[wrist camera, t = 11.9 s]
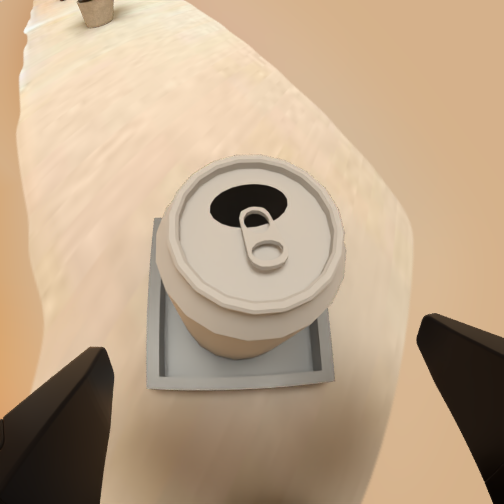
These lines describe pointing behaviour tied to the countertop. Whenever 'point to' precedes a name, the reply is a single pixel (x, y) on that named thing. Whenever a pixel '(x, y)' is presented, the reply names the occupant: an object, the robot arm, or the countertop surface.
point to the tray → (219, 368)
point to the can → (250, 253)
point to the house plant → (96, 12)
